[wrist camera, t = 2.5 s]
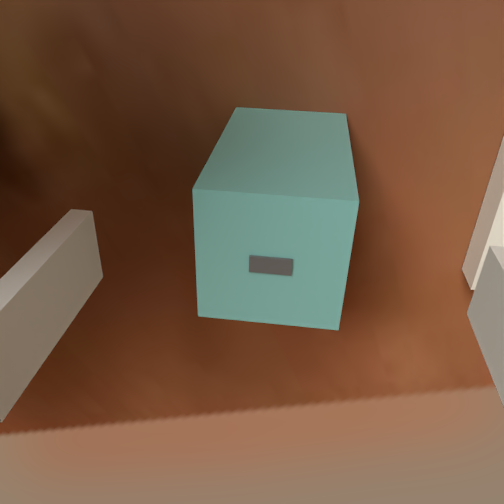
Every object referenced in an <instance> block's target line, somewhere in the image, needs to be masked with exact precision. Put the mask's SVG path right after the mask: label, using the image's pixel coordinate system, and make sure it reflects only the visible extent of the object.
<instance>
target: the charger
mask: <svg viewBox="0 0 504 504" xmlns="http://www.w3.org/2000/svg"><path fill="white" fill-rule="evenodd" d="M192 193H193V216H194V238H195V261H196V284H197V306H198V316H200V317H210V318H220V319H230V320H240V321H250V322H260V323H270V324H280V325H290V326H300V327H310V328H320V329H330V330H339V324H340V318H341V312H342V306H343V299H344V293H345V287H346V281H347V275H348V268H349V262H350V256H351V250H352V244H353V237H354V231H355V225H356V219H357V213H358V206H359V196H358V190H357V183H356V177H355V170H354V163H353V157H352V150H351V144H350V137H349V131H348V124H347V118H346V114H341V113H324V112H308V111H291V110H275V109H258V108H241V107H236V109H235V110H234V112H233V114H232V116H231V118H230V120H229V122H228V123H227V125H226V127H225V129H224V131H223V133H222V135H221V136H220V138H219V140H218V142H217V144H216V146H215V148H214V149H213V151H212V153H211V155H210V157H209V159H208V161H207V162H206V164H205V166H204V168H203V170H202V172H201V174H200V175H199V177H198V179H197V181H196V183H195V185H194V187H193V188H192Z"/></svg>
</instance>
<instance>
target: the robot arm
mask: <svg viewBox="0 0 504 504" xmlns="http://www.w3.org/2000/svg"><path fill="white" fill-rule="evenodd" d="M102 278H103V273H102V267H101V261H100V255H99V249H98V242H97V236H96V230H95V224H94V218H93V212H92V211H88V210H76V209H71V210H70V211H69V212H68V213H67V214H65V215H64V216H63V217H62V218H61V219H60V220H59V221H58V222H57V223H56V224H55V225H54V226H53V227H52V228H51V229H50V230H49V231H48V232H47V233H46V234H45V235H44V236H43V237H42V238H41V239H40V240H39V241H38V242H37V243H36V244H35V245H34V246H33V247H32V248H31V249H30V250H29V251H28V252H27V253H26V254H25V255H24V256H23V257H22V258H21V259H20V260H19V261H18V262H17V263H16V264H15V265H14V266H13V267H12V268H11V269H10V270H9V271H8V272H7V273H6V274H5V275H4V276H3V277H2V278H1V279H0V422H1V423H2V421H3V420H4V419H5V417H6V416H7V414H8V413H9V411H10V410H11V409H12V407H13V406H14V404H15V403H16V401H17V400H18V399H19V397H20V396H21V394H22V393H23V391H24V390H25V388H26V387H27V386H28V384H29V383H30V381H31V380H32V378H33V377H34V376H35V374H36V373H37V371H38V370H39V368H40V367H41V366H42V364H43V363H44V361H45V360H46V358H47V357H48V355H49V354H50V353H51V351H52V350H53V348H54V347H55V345H56V344H57V343H58V341H59V340H60V338H61V337H62V335H63V334H64V333H65V331H66V330H67V328H68V327H69V325H70V324H71V322H72V321H73V320H74V318H75V317H76V315H77V314H78V312H79V311H80V310H81V308H82V307H83V305H84V304H85V302H86V301H87V300H88V298H89V297H90V295H91V294H92V292H93V291H94V289H95V288H96V287H97V285H98V284H99V282H100V281H101V279H102ZM467 316H468V318H469V321H470V323H471V326H472V328H473V331H474V333H475V336H476V338H477V341H478V343H479V346H480V349H481V351H482V354H483V356H484V359H485V361H486V364H487V366H488V369H489V371H490V374H491V376H492V379H493V382H494V384H495V387H496V389H497V392H498V394H499V397H500V399H501V402H502V404H503V407H504V247H501V246H489V249H488V252H487V255H486V258H485V261H484V264H483V267H482V270H481V273H480V276H479V279H478V282H477V285H476V288H475V291H474V294H473V297H472V299H471V302H470V305H469V308H468V311H467Z"/></svg>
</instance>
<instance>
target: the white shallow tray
mask: <svg viewBox="0 0 504 504" xmlns="http://www.w3.org/2000/svg"><path fill="white" fill-rule="evenodd" d="M489 246H501V247H504V136H503V139H502V143H501V146H500V149H499V152H498V155H497V158H496V162H495V165H494V168H493V171H492V174H491V178H490V181H489V184H488V187H487V190H486V194H485V197H484V200H483V203H482V206H481V209H480V213H479V216H478V219H477V222H476V225H475V229H474V232H473V235H472V238H471V241H470V244H469V248H468V251H467V254H466V257H465V260H464V264H463V267H462V271H463V273H464V275H465V278H466V280H467V282H468V284H469V287H470V289H471V290H475V288H476V285H477V282H478V279H479V276H480V273H481V270H482V267H483V264H484V261H485V258H486V255H487V252H488V249H489Z"/></svg>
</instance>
